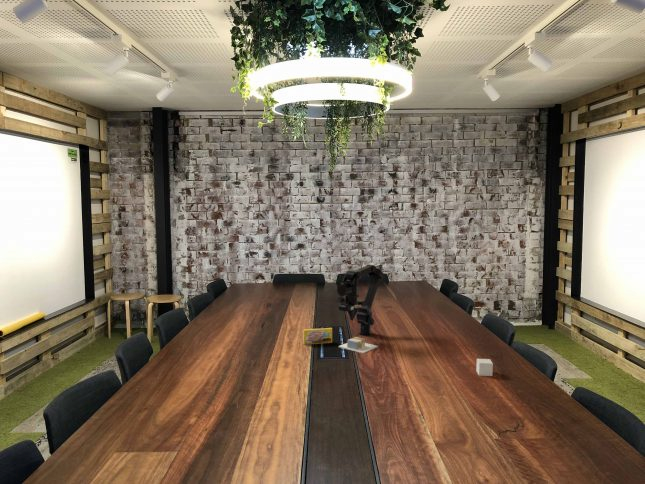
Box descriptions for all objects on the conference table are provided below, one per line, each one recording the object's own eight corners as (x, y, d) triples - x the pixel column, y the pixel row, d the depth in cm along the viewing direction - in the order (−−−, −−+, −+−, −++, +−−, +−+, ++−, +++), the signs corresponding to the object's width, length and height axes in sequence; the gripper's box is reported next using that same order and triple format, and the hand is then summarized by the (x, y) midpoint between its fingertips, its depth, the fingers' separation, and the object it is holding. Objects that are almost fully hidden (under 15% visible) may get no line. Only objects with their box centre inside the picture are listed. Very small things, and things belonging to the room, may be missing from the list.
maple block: (356, 336, 272) (347, 340, 265) (365, 338, 268) (356, 342, 262) (355, 343, 272) (347, 347, 266) (365, 346, 268) (356, 349, 262)
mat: (353, 341, 279) (353, 340, 279) (377, 347, 269) (377, 345, 269) (338, 347, 268) (338, 346, 268) (363, 353, 258) (363, 352, 258)
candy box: (303, 345, 272) (303, 330, 271) (303, 344, 274) (303, 329, 273) (332, 343, 276) (332, 328, 275) (331, 341, 278) (331, 327, 277)
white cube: (476, 371, 234) (476, 358, 234) (489, 371, 234) (489, 359, 233) (479, 375, 228) (479, 363, 228) (492, 376, 228) (492, 363, 227)
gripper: (350, 288, 292) (350, 314, 293) (330, 293, 277) (330, 321, 279) (366, 291, 285) (365, 318, 286) (346, 296, 270) (346, 324, 272)
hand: (351, 320), depth 281 cm, fingers closed
